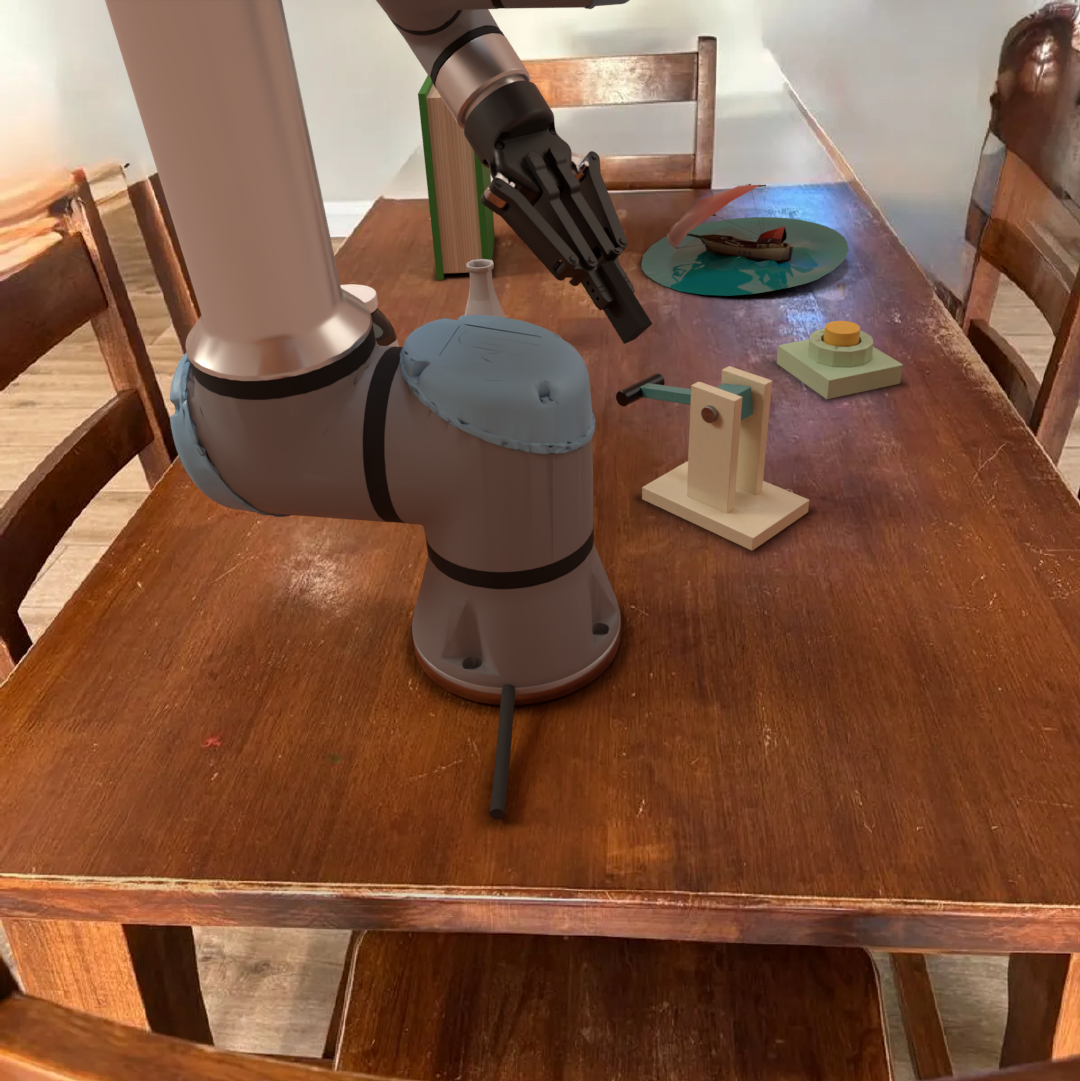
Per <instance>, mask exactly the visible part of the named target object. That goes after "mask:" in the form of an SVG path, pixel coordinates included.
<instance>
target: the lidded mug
mask: <svg viewBox="0 0 1080 1081" xmlns="http://www.w3.org/2000/svg"><path fill="white" fill-rule="evenodd" d="M340 286H341V288H342V289H344V290H345V291H347V292H349V293H351V294H352V295H354V296H356V297H357V298H359V299H360V300H362V301H363V302H364V303H365V304H366V306H367V307H368V309H369V311H370V313H371V318H372V323H373V328H374V334H375V338H376V341H377V344H378V345H379V346H397V347H400V345H399V340H398V336H397V334H396V331H395V329H394V326H393V325H392V323H391V322H390V320H389V318H387V317H386V315H385V314H384V313H383V312H382V311H381V310H380V309H379V308H378V307H379V302H378V295H377V291H376V290H375V289H374V287H371V286H369V285H365V284H364V285H363V284H354V283H353V284H340Z"/></svg>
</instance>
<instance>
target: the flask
mask: <svg viewBox="0 0 1080 1081" xmlns="http://www.w3.org/2000/svg"><path fill="white" fill-rule="evenodd" d="M466 265H467V270H468V272H467V273H469V287H468V288H469V290H468V297H467V301H466V305H465V310H464V314H463V316H464V315H489V316H498V317H505V318H507V317H506V315H505V312H504V310H503V308H502V306H501V303H500V301H499V298H498V296H497V293H496V290H495V286H494V283H493V270H494V266H495V265H494V261H493V259H492V260H487V259H477V260H471V261H469V262H468V263H466Z"/></svg>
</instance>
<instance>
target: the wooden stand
mask: <svg viewBox="0 0 1080 1081" xmlns="http://www.w3.org/2000/svg"><path fill="white" fill-rule="evenodd" d="M720 382H721V383H720V385H721V384H723V383H727V384H734V385H742V386H750V387H751V392H752V403H753V414H752V415H750V416H749V417H747V418H745V419H743V420H742V421H741V410H742V397H741V396H738V395H736V394H733V393H730V392H727V391H724V390H722V389H719V388H716V387H717V386H713V385H710V384H707V383H705V382H701V381H697V382H695V383H693V384H691V386H690V389H691V405H689V407H690V409H689V430H688V431H689V433H688V451H687V452H688V453H687V456H688V457H687V461H685V462H684V463H682V464H680V465H678V466H676V467H675V468H673V469H671V470H669V471H668V472H666V473H664V474H662V475H661V476H659V477H657V478H656V479H654V480H652V481H650V482H649V483H647V484H645V485H643V486H642V487H641V500H643V501H645V502H647V503H649V504H651V505H653V506H656V507H657V508H660V509H663V510H664V511H665V512H668V513H670V514H673V515H675V516H677V517H679V518H681V519H683V520H685V521H687V522H690V523H692V524H694V525H696V526H698V527H700V528H702V529H704V530H707V531H709V532H711V533H712V534H715V535H718V536H720V537H722V538H723V539H726V540H728V541H730V542H732V543H734V544H737V545H738V546H741V547H743V548H745V549H747V550H749V551H751V552H753V551H755V550H756V549H758V548H759V547H760V546H761V545H763V544H765V543H766V542H767V541H769V540H770V539H772V538H773V537H775V536H776V535H778V534H779V533H780V532H781V531H783V530H785V529H786V528H787V527H788V526H790V525H792V524H793V523H795V522H796V521H798V520H799V519H800V518H802V517H804V516H805V515H806V514H807V513H809V506H810V499H809V498H806V497H804V496H801V495H800V494H796V493H794V492H792V491H789V490H787V489H785V488H783V487H781V486H777V485H775V484H772V483H770V482H767V481H765V480H764V478H765V476H764V475H765V466H766V456H767V455H766V454H767V444H768V434H769V432H768V431H769V423H770V422H769V421H770V411H771V400H772V390H773V380H772V379H769V378H766V377H763V376H760V375H758V374H754V373H751V372H749V371H745V370H743V369H739V368H736V367H733V366H730V365H728V366H726V367H724V368H722V369H721V380H720Z"/></svg>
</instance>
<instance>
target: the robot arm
mask: <svg viewBox="0 0 1080 1081" xmlns="http://www.w3.org/2000/svg"><path fill="white" fill-rule="evenodd" d="M104 1H105V5H106V7H107V11H108V14H109V19H110V23H111V24H112V28H113V31H114V34H115V38H116V41H117V44H118V49H119V51H120V53H121V57H122V61H123V64H124V66H125V70H126V73H127V77H128V81H129V84H130V87H131V91H132V93H133V96H134V99H135V100H134V101H135V103H136V105H137V109H138V113H139V116H140V119H141V123H142V125H143V129H144V133H145V135H146V139H147V142H148V145H149V148H150V152H151V155H152V158H153V162H154V165H155V168H156V171H157V175H158V178H159V181H160V184H161V188H162V191H163V194H164V197H165V200H166V204H167V207H168V210H169V214H170V217H171V220H172V224H173V226H174V230H175V233H176V237H177V239H178V244H179V246H180V250H181V253H182V256H183V260H184V263H185V266H186V269H187V272H188V275H189V279H190V282H191V286H192V290H193V292H194V295H195V298H196V299H195V300H196V302H197V306H198V308H199V311H200V312H199V313H200V316H199V318H198V320H196V322H195V324H194V325H193V326H192V328H191V329H190V330H189V332H188V334H187V336H186V340H185V351H186V352H185V353H184V354H183V356H182V357H181V358H180V360H179V362H178V363H177V365H176V368H175V371H174V373H173V376H172V380H171V384H170V393H169V401H170V402H171V403H172V404H173V406H174V414H171V415H170V417H169V422H170V429H171V434H172V439H173V442H174V446H175V449H176V452H177V455H178V458H179V460H180V462H181V464H182V466H183V468H184V470H185V472H186V474H188V476H189V478H190V479H191V481H192V482H193V483H194V485H195V486H196V487H197V488H198V489H199V490H200V492H202V494H204V495H205V496H206V497H207V498H209V499H210V500H212V501H213V502H215V503H217V504H218V505H220V506H223V507H225V508H227V509H231V510H236V511H237V510H238V511H243V512H250V513H256V514H258V515H261V516H271V517H272V516H273V517H274V518H286V517H292V516H300V517H311V518H313V517H314V518H324V519H325V518H326V519H327V518H328V519H340V520H353V521H354V520H355V521H368V522H379V523H380V522H381V523H395V524H396V523H399V524H411V525H420V526H423V531H424V535H425V542H426V550H427V551H426V552H427V559H426V563H425V567H424V571H423V575H422V579H421V582H420V586H419V591H418V595H417V599H416V602H415V606H414V610H413V616H412V623H411V625H412V626H411V634H412V640H413V646H414V647H413V648H414V653H415V656H416V661H417V662H418V664H419V666H420V668H421V669H422V670H423V672H424V673H425V674H426V675H427V677H428V678H429V679H430V680H432V682H433V683H435V684H436V685H437V686H439V687H440V688H442V689H443V690H445V691H446V692H449V693H450V694H453V695H455V696H457V697H460V698H462V699H463V698H464V699H466V700H469V701H471V702H476V703H481V704H482V703H483V704H486V705H487V704H489V705H496V706H499V715H498V716H499V717H498V728H497V738H496V751H495V761H494V772H493V782H492V789H491V799H490V806H489V816H490V818H493V819H495V820H501V819H504V818H505V815H506V809H507V808H506V807H507V798H508V790H509V789H508V788H509V778H510V777H509V775H510V767H511V766H510V764H511V752H512V739H513V726H514V713H515V712H514V711H515V706H523V705H533V704H534V705H535V704H539V703H544V702H548V701H553V700H556V699H559V698H562V697H565V696H567V695H570V694H572V693H574V692H577V691H578V690H580V689H583V688H584V687H586V686H587V685H588V684H591V683H592V682H593V681H594V680H596V679H597V678H598V677H600V675H601V674H603V673H604V672H605V671H606V670H607V668H609V666H610V664H611V663H612V662H613V661H614V659H615V657H616V656H617V654H618V653H617V652H618V650H619V647H620V643H621V631H622V630H621V629H622V625H621V623H622V622H621V618H622V617H621V610H620V606H619V603H618V598H617V596H616V594H615V592H614V591H615V590H614V589H613V586H612V584H611V581H610V579H609V577H608V574H607V572H606V570H605V567H604V565H603V562H602V560H601V557H600V555H599V552H598V550H597V547H596V545H595V516H594V515H595V514H594V454H593V453H594V449H593V448H594V445H593V444H594V439H593V438H594V433H595V432H596V418H595V415H594V414H595V413H594V409H593V406H592V393H591V392H592V391H591V382H590V374H589V370H588V366H587V364H586V362H585V360H584V358H583V357H582V354H580V352H579V351H578V350H577V349H576V347H574V346H573V344H571V343H570V342H568V341H566V340H565V339H563V338H562V337H561V335H559V334H557V333H556V332H554V331H551V330H550V329H548V328H545V327H543V326H540V325H537V324H535V323H532V322H530V321H525V320H521V319H515V318H510V317H506V316H505V317H506V318H505V317H498V316H489V315H464V314H463V315H460V316H459V317H458V318H457V319H452V318H448V317H444V318H439V319H434V320H432V321H429V322H426V323H423V324H422V325H420V326H418V327H416V328H415V329H413V331H411V332H410V333H409V334H408V336H407V337H406V339H405V340H404V342H403V346H399V347H397V346H379V345H378V344H377V341H376V338H375V334H374V328H373V323H372V318H371V313H370V311H369V309H368V307H367V306H366V304H365V303H364V302H363V301H362V300H360V299H359V298H357V297H356V296H354V295H352V294H351V293H349V292H347V291H345V290H344V289H342V288H341V286H340V285H341V283H340V277H339V272H338V268H337V264H336V262H337V261H336V257H335V253H334V248H333V242H332V237H331V232H330V228H329V223H328V218H327V213H326V208H325V203H324V199H323V194H322V189H321V184H320V179H319V175H318V169H317V165H316V160H315V156H314V150H313V146H312V141H311V135H310V131H309V126H308V121H307V116H306V111H305V106H304V102H303V97H302V92H301V87H300V82H299V76H298V73H297V66H296V62H295V58H294V53H293V52H294V51H293V48H292V43H291V38H290V33H289V28H288V22H287V19H286V13H285V9H284V4H283V0H104ZM375 1H376V3H377V4H378V5H379V6H380V8H381V9H382V10H383V12H384V13H385V14H386V15H387V17H388V18H389V20H390V21H391V23H392V25H394V27H395V29H397V31H398V32H399V34H400V35H401V36H402V37H403V39H404V40H405V42H406V44H407V45H408V47H409V48H410V50H411V51H412V54H414V56H415V57H416V59H417V60H418V62H419V64H420V65H421V66H422V68H423V70H424V71H425V73H426V75H427V76H429V77H430V79H431V80H432V83H433V84H434V86H435V88H436V90H437V91H438V93H439V94H440V96H441V98H442V99H443V101H444V103H445V104H446V106H447V107H448V109H449V111H450V112H451V114H452V116H453V117H454V119H455V120H456V122H457V124H458V125H459V126H460V127H461V128H464V135H465V137H466V139H467V141H468V142H469V144H470V145H471V147H472V149H473V150H474V152H475V154H476V155H477V157H478V158H479V160H480V162H481V163H482V164H483V165H484V166H485V167H487V168H490V174H491V183H490V185H489V186H488V188H487V189H486V190H485V192H484V193H483V195H482V196H481V202H482V204H483V205H485V206H486V207H488V208H489V209H490V210H492V211H493V213H495V214H496V215H498V216H499V217H501V219H503V221H504V222H505V223H506V224H507V225H508V227H509V228H511V230H512V231H513V232H514V234H516V236H517V237H518V238H519V239H520V240H521V241H522V243H524V244H525V246H526V247H527V248H528V249H529V251H531V252H532V253H533V254H534V255H535V256H536V258H537V259H538V260H539V261H540V262H541V264H542V265H543V266H544V267H545V268H546V269H547V270H548V272H549V273H550V274H551V275H552V276H553V277H554V278H555V279H556V280H557V281H561V282H563V281H565V280H566V278H567V279H569V281H568V284H570V285H571V286H572V287H578V286H579V285H580V284H581V285H582V287H583V288H584V290H585V291H586V293H587V295H588V296H589V298H590V300H591V301H592V303H593V304H594V306H595V308H597V309H598V310H599V311H603V313H604V314H605V315H606V317H607V319H608V320H609V323H611V325H612V327H613V328H614V330H615V332H616V333H617V335H618V336H619V338H620V340H621V342H622V344H624V345H626V344H628V343H630V342H632V341H635V340H636V339H638V338H639V337H640V336H641V335H642V334H643V333H644V332H645V331H647V329H648V328H649V327H651V326H652V325H653V323H652V321H651V319H650V318H649V316H648V314H647V312H646V311H645V309H644V307H643V306H642V305H641V303H640V301H639V300H638V298H637V297H636V295H635V292H636V290H635V286H634V284H633V283H632V281H631V280H630V278H629V277H628V274H627V272H626V271H625V270H624V269H623V266H622V264H621V263H620V261H619V256H621V254H622V253H623V252H624V250H625V249H626V248H627V247H628V246H629V241H628V238H627V236H626V234H625V230H624V229H623V227H622V226H623V225H622V223H621V222H620V218H619V216H618V214H617V211H616V209H615V206H614V203H613V201H612V198H611V196H610V193H609V191H608V188H607V187H606V184H605V181H604V178H603V176H602V173H601V158H600V155H599V154H598V153H597V152H595V151H594V150H591V151H589V152H588V153H587V154H586V155H582V154H579V153H576V152H573V151H572V148H571V146H570V144H569V143H568V142H567V141H566V140H564V139H563V138H562V137H561V136H560V135H559V134H558V133H557V130H556V124H555V114H554V112H553V110H552V108H551V107H550V105H549V104H548V102H547V101H546V99H545V98H544V95H543V94H542V92H541V91H540V89H539V87H538V86H537V85H536V84H535V82H532V81H531V75H530V73H529V71H528V69H527V67H526V66H525V64H524V63H523V61H522V60H521V58H520V56H519V55H518V54H517V52H516V50H515V49H514V48H513V46H512V44H511V43H510V41H509V40H508V38H507V36H506V35H505V34H504V32H503V31H502V30H501V28H500V27H499V26H498V23H497V21H496V20H495V19H494V17H493V15H492V13H491V12H490V10H499V9H508V10H509V9H566V8H567V9H569V8H570V9H573V8H574V9H576V8H579V9H580V8H581V9H582V8H584V9H586V10H592V9H594V8H595V7H603V6H615V5H624V4H627V3H628V2H630V1H631V0H375Z"/></svg>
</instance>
